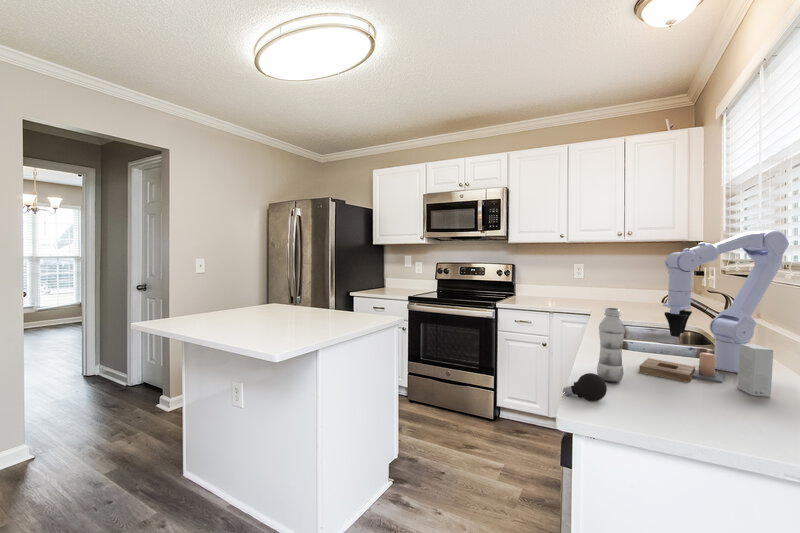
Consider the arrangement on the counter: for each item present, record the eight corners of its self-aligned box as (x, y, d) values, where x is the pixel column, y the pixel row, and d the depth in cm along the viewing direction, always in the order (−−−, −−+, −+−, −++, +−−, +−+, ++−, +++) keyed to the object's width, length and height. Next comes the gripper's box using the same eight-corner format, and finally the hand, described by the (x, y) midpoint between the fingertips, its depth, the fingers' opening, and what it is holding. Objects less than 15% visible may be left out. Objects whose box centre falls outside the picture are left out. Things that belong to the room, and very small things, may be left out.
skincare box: (771, 397, 96) (774, 350, 95) (751, 395, 97) (754, 348, 96) (754, 389, 102) (757, 344, 101) (736, 387, 103) (738, 343, 102)
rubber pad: (693, 371, 117) (693, 369, 117) (723, 376, 112) (723, 374, 112) (689, 377, 111) (690, 375, 111) (721, 383, 106) (721, 381, 106)
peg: (699, 371, 114) (700, 351, 114) (714, 374, 112) (715, 354, 111) (698, 374, 111) (699, 354, 111) (714, 377, 109) (715, 356, 109)
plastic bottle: (625, 380, 106) (629, 308, 106) (619, 386, 102) (622, 311, 101) (600, 375, 111) (603, 306, 110) (593, 380, 106) (596, 308, 105)
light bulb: (557, 374, 98) (599, 365, 93) (567, 396, 98) (609, 389, 94) (557, 387, 92) (602, 379, 87) (567, 411, 92) (612, 404, 88)
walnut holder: (647, 364, 123) (648, 357, 123) (694, 372, 115) (695, 366, 115) (639, 372, 114) (639, 365, 114) (689, 382, 106) (689, 375, 106)
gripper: (668, 288, 127) (666, 329, 127) (659, 291, 116) (657, 335, 117) (695, 290, 122) (692, 332, 122) (688, 293, 111) (686, 340, 112)
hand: (677, 334), depth 119 cm, fingers open, 7 cm apart
